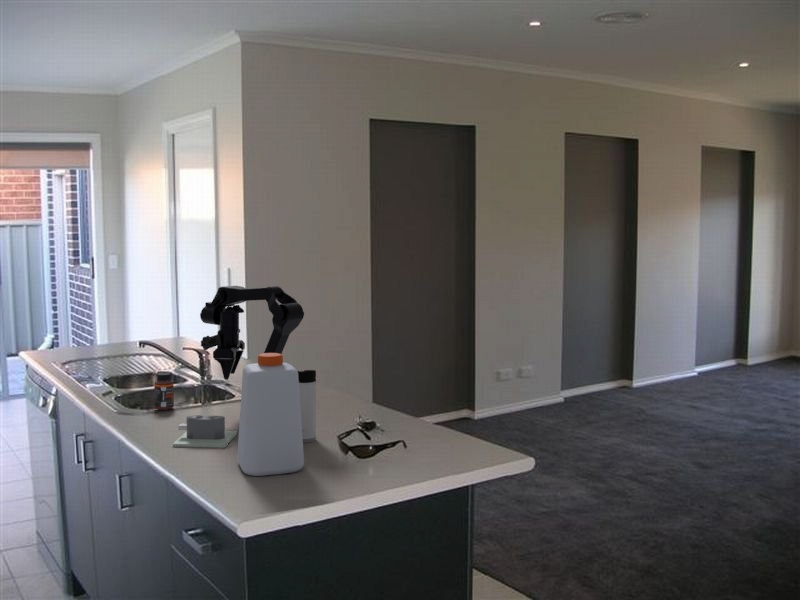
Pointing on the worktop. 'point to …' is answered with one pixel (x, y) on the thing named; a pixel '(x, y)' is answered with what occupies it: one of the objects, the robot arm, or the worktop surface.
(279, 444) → the plastic bottle
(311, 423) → the travel mug
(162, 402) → the supplement bottle
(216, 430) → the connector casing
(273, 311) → the robot arm
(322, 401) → the worktop surface
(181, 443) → the sage board
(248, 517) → the worktop surface
